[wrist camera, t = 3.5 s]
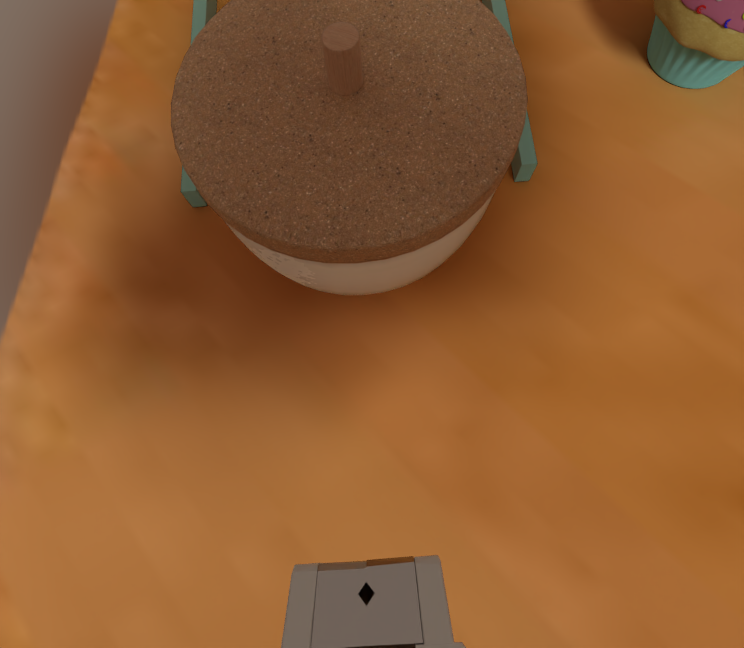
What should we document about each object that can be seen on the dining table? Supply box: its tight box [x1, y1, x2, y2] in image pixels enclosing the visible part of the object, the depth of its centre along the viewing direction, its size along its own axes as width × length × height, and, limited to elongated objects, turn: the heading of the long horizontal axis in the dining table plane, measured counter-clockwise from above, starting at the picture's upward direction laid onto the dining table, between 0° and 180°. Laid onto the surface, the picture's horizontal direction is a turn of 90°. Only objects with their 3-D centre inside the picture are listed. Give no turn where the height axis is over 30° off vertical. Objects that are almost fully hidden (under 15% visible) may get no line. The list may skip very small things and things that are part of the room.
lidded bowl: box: [171, 0, 527, 295], centre depth 19 cm, size 13×13×11 cm
